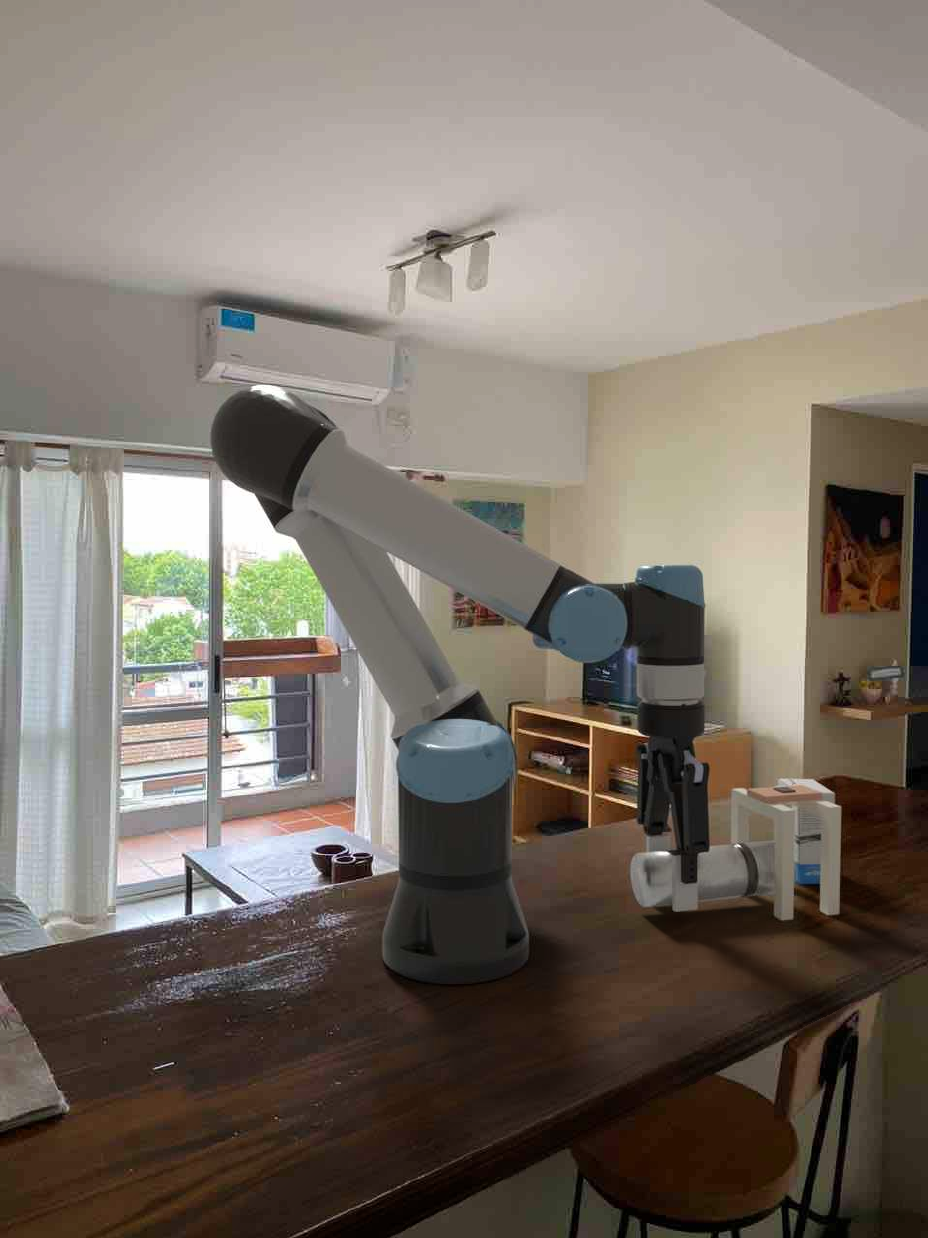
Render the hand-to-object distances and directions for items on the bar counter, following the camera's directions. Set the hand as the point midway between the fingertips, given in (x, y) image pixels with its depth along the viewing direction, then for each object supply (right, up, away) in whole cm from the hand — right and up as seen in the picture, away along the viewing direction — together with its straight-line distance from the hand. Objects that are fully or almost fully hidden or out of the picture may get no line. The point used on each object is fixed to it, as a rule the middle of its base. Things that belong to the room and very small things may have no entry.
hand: (671, 899), depth 108 cm
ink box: (+20, -1, +14) cm, 25 cm away
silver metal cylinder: (+5, 0, +2) cm, 5 cm away
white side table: (+14, -1, +4) cm, 15 cm away
